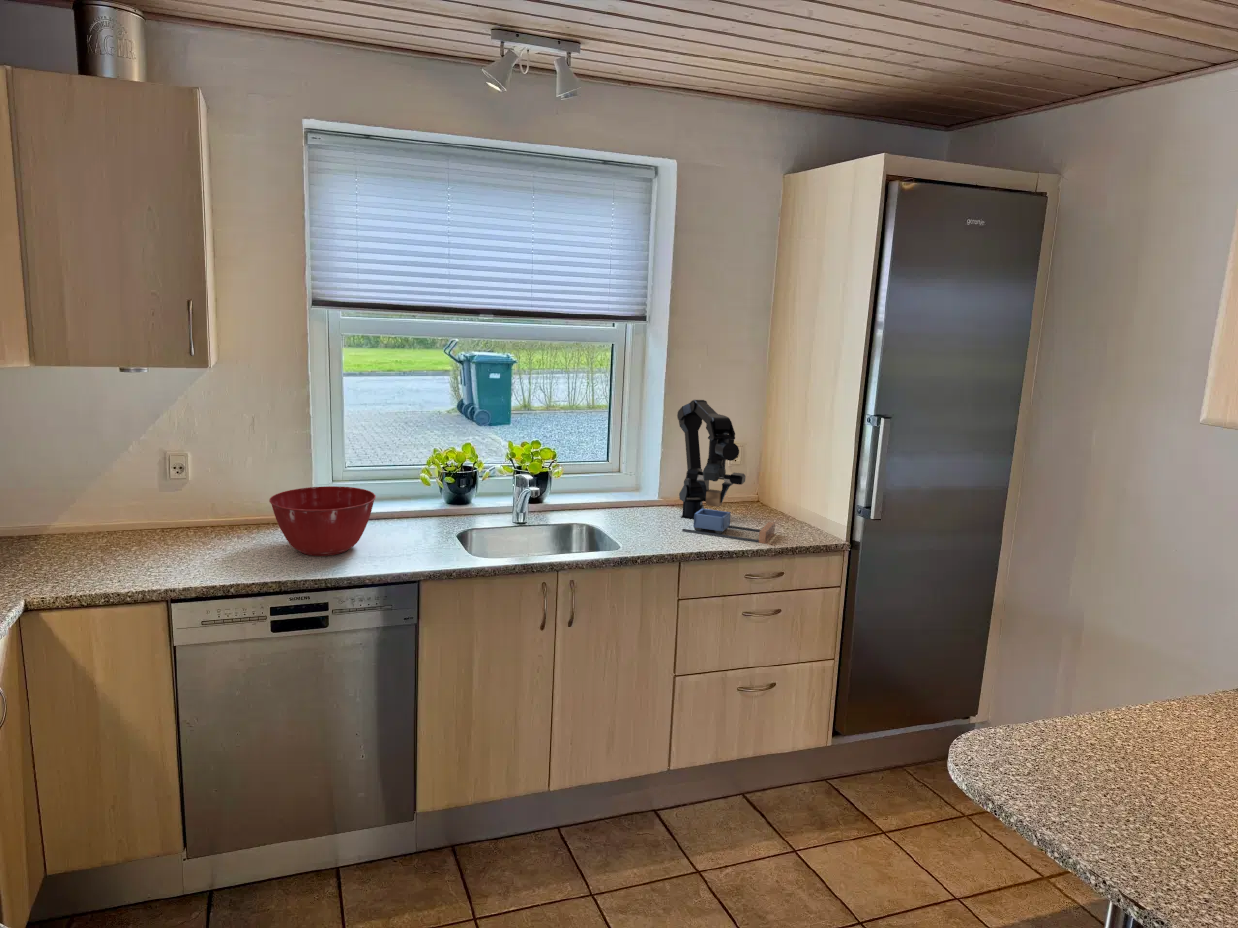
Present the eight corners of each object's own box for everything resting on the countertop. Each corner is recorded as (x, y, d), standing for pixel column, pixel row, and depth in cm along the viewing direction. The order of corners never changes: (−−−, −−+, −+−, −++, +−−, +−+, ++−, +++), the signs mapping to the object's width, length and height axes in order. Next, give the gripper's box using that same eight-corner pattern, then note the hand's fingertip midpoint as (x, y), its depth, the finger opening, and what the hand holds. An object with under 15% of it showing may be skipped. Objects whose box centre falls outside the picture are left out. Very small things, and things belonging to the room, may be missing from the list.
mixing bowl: (287, 569, 228) (286, 512, 226) (258, 542, 251) (257, 490, 248) (390, 555, 245) (390, 502, 242) (355, 531, 267) (355, 482, 265)
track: (682, 532, 285) (682, 520, 285) (694, 523, 298) (695, 511, 297) (764, 544, 276) (765, 532, 275) (773, 534, 288) (774, 522, 288)
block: (705, 505, 286) (706, 491, 285) (709, 502, 290) (709, 489, 289) (718, 506, 284) (719, 493, 284) (722, 504, 289) (723, 490, 288)
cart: (693, 530, 286) (694, 513, 285) (700, 525, 295) (701, 508, 294) (722, 535, 283) (723, 517, 282) (729, 529, 291) (730, 512, 290)
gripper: (682, 455, 280) (679, 502, 283) (739, 461, 274) (736, 510, 277) (692, 450, 290) (689, 496, 293) (747, 456, 284) (743, 503, 287)
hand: (714, 501), depth 287 cm, fingers closed on block, 4 cm apart
